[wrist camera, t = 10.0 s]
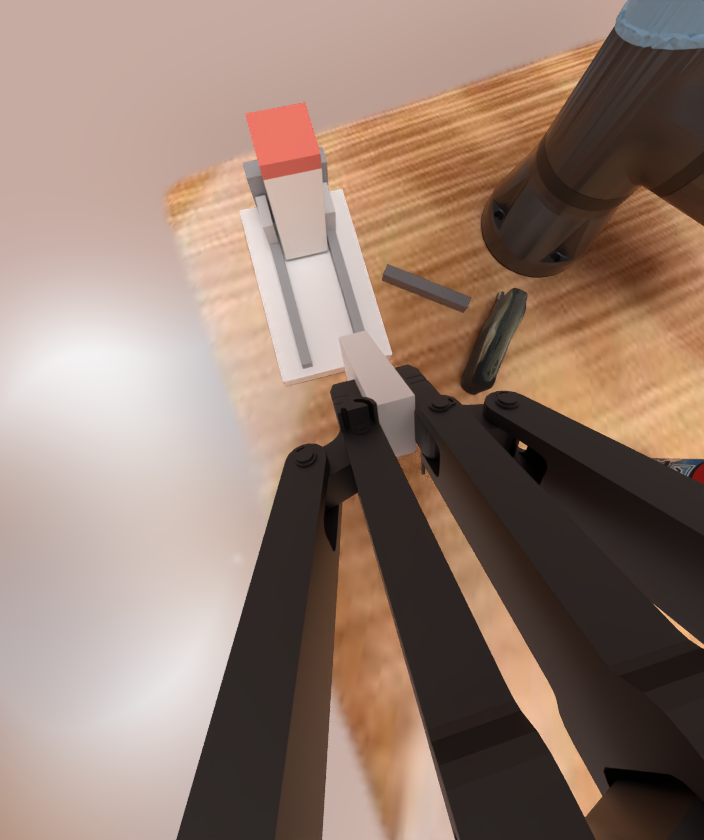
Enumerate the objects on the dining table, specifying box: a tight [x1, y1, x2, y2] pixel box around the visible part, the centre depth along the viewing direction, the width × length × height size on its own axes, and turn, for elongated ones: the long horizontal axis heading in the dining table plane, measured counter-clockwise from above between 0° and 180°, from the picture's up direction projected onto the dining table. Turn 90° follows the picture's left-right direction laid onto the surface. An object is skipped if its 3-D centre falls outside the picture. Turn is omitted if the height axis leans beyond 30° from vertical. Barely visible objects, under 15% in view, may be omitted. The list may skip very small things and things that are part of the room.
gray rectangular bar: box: [382, 264, 471, 312], centre depth 36 cm, size 12×2×2 cm, turn 68°
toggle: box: [245, 103, 328, 260], centre depth 29 cm, size 5×5×11 cm
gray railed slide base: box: [239, 147, 392, 386], centre depth 32 cm, size 24×14×8 cm, turn 15°
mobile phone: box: [461, 288, 527, 395], centre depth 34 cm, size 5×3×15 cm
